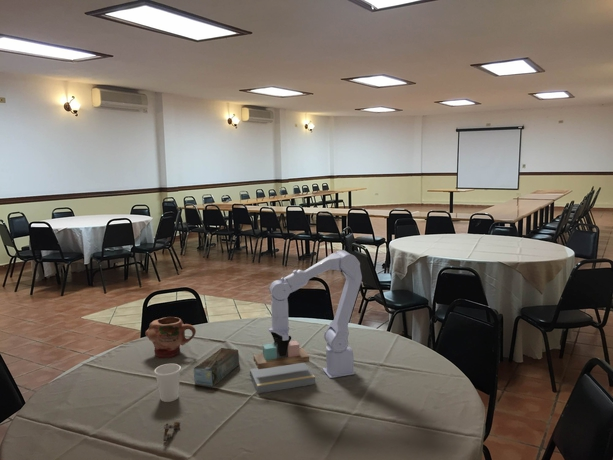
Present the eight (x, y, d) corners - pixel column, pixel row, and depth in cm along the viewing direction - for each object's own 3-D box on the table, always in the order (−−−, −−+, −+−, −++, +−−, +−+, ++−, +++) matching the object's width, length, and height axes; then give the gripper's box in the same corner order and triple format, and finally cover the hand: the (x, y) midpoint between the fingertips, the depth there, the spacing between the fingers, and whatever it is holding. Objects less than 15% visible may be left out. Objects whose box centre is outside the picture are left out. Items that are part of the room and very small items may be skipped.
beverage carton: (193, 383, 170) (192, 366, 169) (222, 362, 188) (221, 345, 187) (212, 387, 167) (211, 369, 166) (240, 365, 185) (239, 348, 184)
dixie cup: (187, 393, 163) (185, 365, 161) (173, 405, 155) (171, 375, 154) (166, 390, 166) (164, 362, 164) (151, 401, 158) (148, 372, 156)
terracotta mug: (199, 346, 204) (197, 313, 202) (195, 357, 192) (193, 323, 190) (150, 348, 202) (147, 316, 200) (143, 360, 190) (140, 326, 188)
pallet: (302, 353, 177) (302, 335, 176) (309, 361, 169) (309, 343, 168) (253, 360, 171) (252, 342, 170) (258, 369, 164) (257, 351, 163)
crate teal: (274, 354, 171) (273, 343, 171) (276, 358, 167) (276, 347, 167) (263, 355, 170) (262, 344, 170) (265, 360, 166) (265, 349, 166)
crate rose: (296, 351, 173) (296, 340, 173) (299, 355, 170) (299, 344, 169) (285, 352, 172) (285, 341, 172) (288, 357, 168) (288, 346, 168)
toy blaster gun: (159, 441, 134) (161, 423, 135) (172, 437, 142) (174, 420, 143) (165, 441, 134) (168, 424, 135) (178, 437, 141) (180, 421, 143)
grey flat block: (303, 367, 181) (303, 360, 180) (315, 383, 168) (315, 376, 167) (250, 375, 175) (249, 368, 175) (257, 393, 162) (257, 386, 161)
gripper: (264, 310, 173) (265, 347, 176) (273, 323, 160) (274, 363, 162) (283, 308, 176) (284, 344, 178) (294, 321, 162) (295, 360, 164)
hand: (281, 353), depth 170 cm, fingers closed on pallet, 4 cm apart
